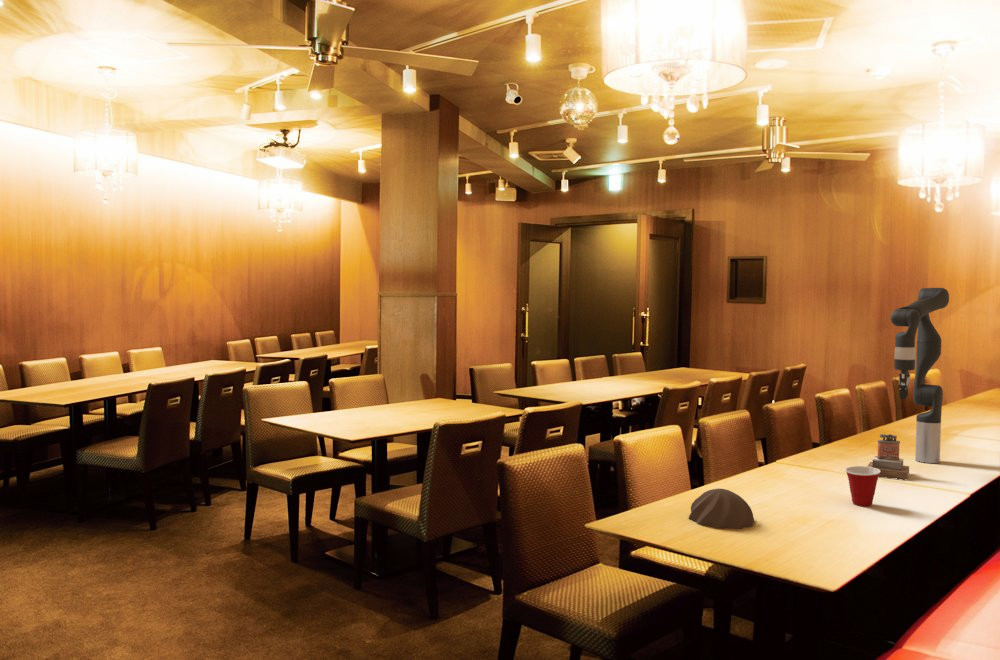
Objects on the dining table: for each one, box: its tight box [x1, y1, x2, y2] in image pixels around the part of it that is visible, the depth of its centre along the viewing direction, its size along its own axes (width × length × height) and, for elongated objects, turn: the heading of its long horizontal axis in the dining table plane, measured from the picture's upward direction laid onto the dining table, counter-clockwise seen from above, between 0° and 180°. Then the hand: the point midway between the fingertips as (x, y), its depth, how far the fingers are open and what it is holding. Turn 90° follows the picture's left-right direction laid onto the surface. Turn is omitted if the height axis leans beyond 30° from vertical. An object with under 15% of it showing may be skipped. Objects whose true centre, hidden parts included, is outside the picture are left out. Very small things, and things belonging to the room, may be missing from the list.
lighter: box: [876, 433, 901, 460], centre depth 294 cm, size 8×3×10 cm, turn 78°
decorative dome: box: [688, 488, 755, 530], centre depth 229 cm, size 19×20×10 cm
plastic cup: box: [844, 465, 880, 507], centre depth 249 cm, size 11×11×12 cm
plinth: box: [866, 455, 910, 480], centre depth 295 cm, size 14×14×6 cm
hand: (903, 397), depth 304 cm, fingers open, 8 cm apart
